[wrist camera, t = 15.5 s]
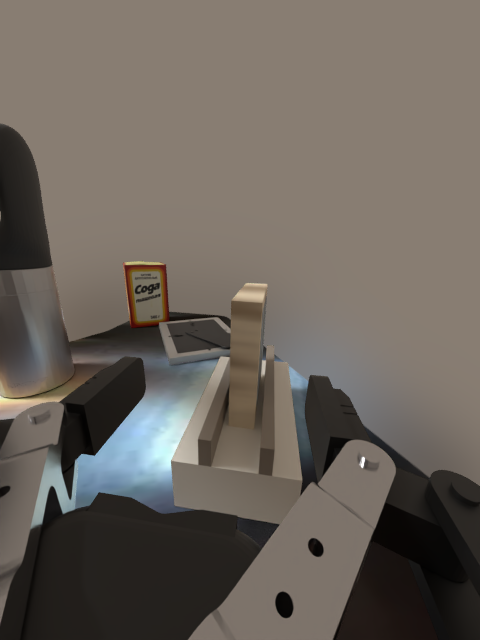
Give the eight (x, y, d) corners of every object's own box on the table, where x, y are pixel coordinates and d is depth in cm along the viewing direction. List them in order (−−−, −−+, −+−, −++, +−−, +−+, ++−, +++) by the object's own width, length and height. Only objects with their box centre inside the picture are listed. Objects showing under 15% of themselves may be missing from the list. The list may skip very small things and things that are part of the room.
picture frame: (248, 355, 48) (217, 324, 66) (249, 343, 47) (217, 314, 65) (169, 368, 42) (159, 330, 60) (168, 354, 41) (158, 319, 59)
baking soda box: (164, 316, 69) (161, 261, 64) (169, 323, 63) (165, 263, 58) (129, 320, 65) (122, 261, 60) (131, 328, 59) (123, 263, 54)
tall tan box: (254, 429, 21) (263, 302, 18) (228, 425, 22) (230, 300, 18) (261, 377, 30) (267, 284, 26) (242, 375, 30) (245, 282, 27)
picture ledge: (295, 527, 19) (306, 454, 16) (174, 505, 20) (169, 435, 17) (284, 392, 36) (289, 347, 33) (220, 385, 37) (220, 341, 34)
